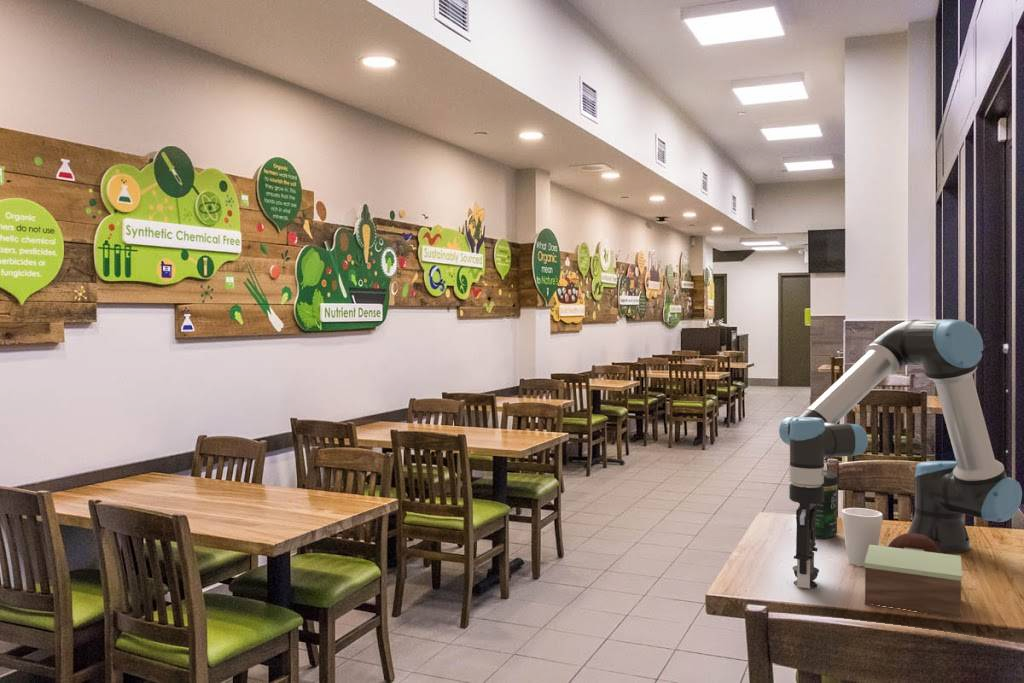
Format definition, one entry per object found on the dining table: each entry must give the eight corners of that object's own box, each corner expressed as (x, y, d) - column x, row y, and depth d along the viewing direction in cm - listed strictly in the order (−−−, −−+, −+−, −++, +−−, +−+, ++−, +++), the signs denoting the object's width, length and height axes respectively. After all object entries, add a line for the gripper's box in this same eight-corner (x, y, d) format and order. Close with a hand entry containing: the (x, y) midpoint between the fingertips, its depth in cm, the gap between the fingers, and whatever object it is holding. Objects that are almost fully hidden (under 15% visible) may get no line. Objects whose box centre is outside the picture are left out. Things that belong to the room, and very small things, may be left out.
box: (960, 619, 161) (961, 580, 161) (864, 604, 169) (865, 567, 169) (959, 598, 173) (959, 562, 173) (869, 585, 182) (870, 551, 181)
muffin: (916, 586, 181) (917, 543, 181) (877, 572, 191) (877, 531, 191) (952, 579, 186) (952, 538, 185) (911, 566, 196) (912, 526, 196)
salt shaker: (816, 590, 178) (817, 538, 178) (789, 585, 181) (790, 534, 181) (821, 583, 183) (822, 532, 183) (795, 578, 186) (795, 528, 186)
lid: (962, 583, 161) (962, 576, 160) (864, 570, 169) (864, 562, 169) (960, 561, 174) (960, 554, 174) (869, 549, 183) (869, 543, 183)
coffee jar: (828, 541, 218) (828, 475, 218) (800, 535, 224) (801, 471, 223) (841, 534, 225) (842, 470, 225) (814, 529, 231) (814, 466, 230)
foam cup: (885, 570, 193) (886, 517, 193) (846, 567, 195) (846, 515, 194) (876, 558, 202) (876, 508, 202) (838, 556, 204) (838, 507, 204)
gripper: (818, 493, 172) (817, 598, 172) (828, 478, 188) (827, 574, 189) (782, 490, 175) (781, 592, 176) (796, 475, 192) (795, 569, 192)
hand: (805, 582), depth 182 cm, fingers closed on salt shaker, 6 cm apart
